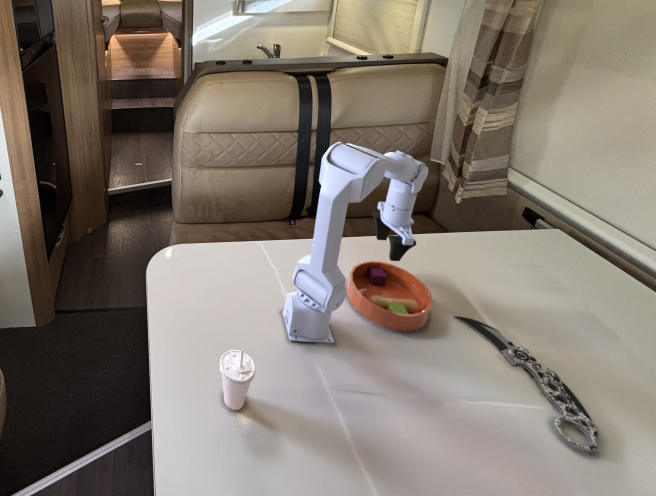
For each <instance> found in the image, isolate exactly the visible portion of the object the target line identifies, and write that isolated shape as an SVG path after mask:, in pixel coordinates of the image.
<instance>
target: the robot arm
mask: <svg viewBox="0 0 656 496" xmlns="http://www.w3.org/2000/svg"><path fill="white" fill-rule="evenodd" d="M428 175H429V167H428V166H426V163H425V162H423V161H420V160H417V159H414V156H411V155H409V154H407V153H405V152H403V151H400V150H396V151H395V152H392V151H391V152H386V153H384V154H383V153H380V152H377V151H375V150H372V149H370V148H367V147H364V146H360V145H357V144H356V145H355V144H352V143H345V144H344V143H343V142H341V141H339V142H338V141H337V142H335V143H333V144H332V145H331V146H329V147H328V149H327V150H326V152H325V153H324V154H323V155H322V157H321V162H320V171H319V177H318V178H319V179H318V182H319V184H320V186H321V187H320V191H319V195H318V196H319V197H318V204H317V210H316V216H315V223H314V230H313V238H312V244H311V250H310V253H309V254H307V255H304V256H303V257H301V258H300V259H299V260H298V261H296V266H295V269H294V271H293V273H292V276H291V277H292V280H291V281H292V285H294V286H295V287H296V288H295V289H296V290H295V291H291V292H287V293H285V300H284V307H283V310H282V316H283V320H284V325H285V328H286V332H287V336H288V339H289V341H291V342H303V343H317V342H318V343H319V342H320V343H330V344H333V343H335V340H334V337H333V334H332V332H331V329H330V324H331V320H332V314H333V312H334V311H337V310H338V309H339V308H340V307H341V306H342V305H343V303H344V301H345V300H346V297H347V286H346V282H347V279H346V276H345V275H344V273H343V272H342V270H341V269H340V268H339V265H338V260H339V256H340V250H341V245H342V239H343V234H344V227H345V222H346V217H347V212H348V211H347V210H348V205H349V204H350V203H361V202H362V201H363V200H364V199H366V198H367V197H368V196H369V195H370V194H371V193H372V192H373V190H375V189H376V188H377V187H378V186H379V185H380V184H381V183H382V181H383V179H384V177H385V178H387V179H390V182H389V186H388V191H387V194H386V200H385V201H378V203H377V210H378V211H372V217H373V220H374V223H375V225H374V226H375V236H376V237H375V238H376V240H377V241H387V239H388V241H389V245H390V246H389V254H388V259H389V260H390V262H400V261H401V260H402V259H403V257H404V255H405V254H406V253H407V252H408V251H410V250H411V249H412V248H414V247H416V245H417V241H416V239H415V238H414V235H413V231H412V227H411V226H412V225H414V223H415V221H414V220H413V218H412V214H413V210H414V206H415V203H416V199H417V197H418V193H419V192H421V190H422V188H423V184H424V183H425V181H426V179H427V177H428ZM391 230H392V231H393V232H394V233H396V234H397V235H393V234H390V232H391Z"/></svg>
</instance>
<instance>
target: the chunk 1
mask: <svg viewBox="0 0 656 496" xmlns="http://www.w3.org/2000/svg"><path fill="white" fill-rule="evenodd" d="M367 278H368V280H369V282H370V283H371V285H372V286H385V283H386V279H387V275H386V274H385V272H384V270H383V269H382V267H369V269H368V273H367Z"/></svg>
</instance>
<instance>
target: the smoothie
mask: <svg viewBox="0 0 656 496" xmlns="http://www.w3.org/2000/svg"><path fill="white" fill-rule="evenodd" d="M219 371H220V373H221V380H222V391H223V401H224V404H225V406H226V407H228V409H230V410H232V411H239V410H242V408H243V407H244V404H245V401H246V398H247V395H248V392H249V389H250V385H251V383H252V381H253V380H254V379H255V377H256V376H255V375H256V365H255V362H254V360H253V359H252V357H251V356H250V355H249V354H247V353H246V352H245V349H244V348H243V347H241V348H240V350H239V349H229V350H227V351H226V352H224V353H223V354H222V355H221V357H220V361H219Z"/></svg>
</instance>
